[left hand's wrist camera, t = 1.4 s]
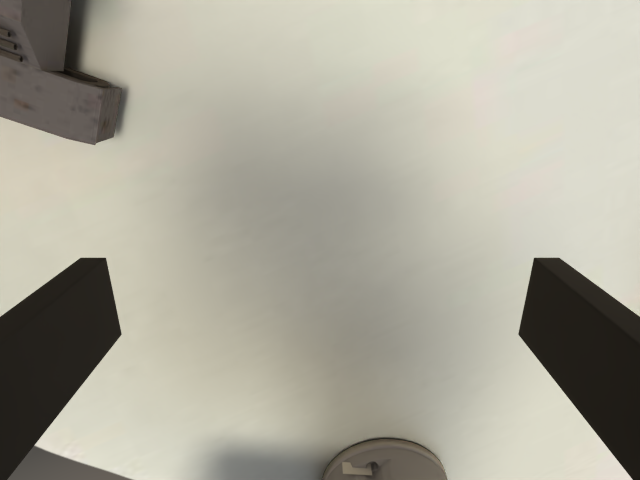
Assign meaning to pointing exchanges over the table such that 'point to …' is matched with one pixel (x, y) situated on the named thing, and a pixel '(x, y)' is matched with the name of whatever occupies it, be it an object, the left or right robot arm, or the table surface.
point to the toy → (50, 75)
